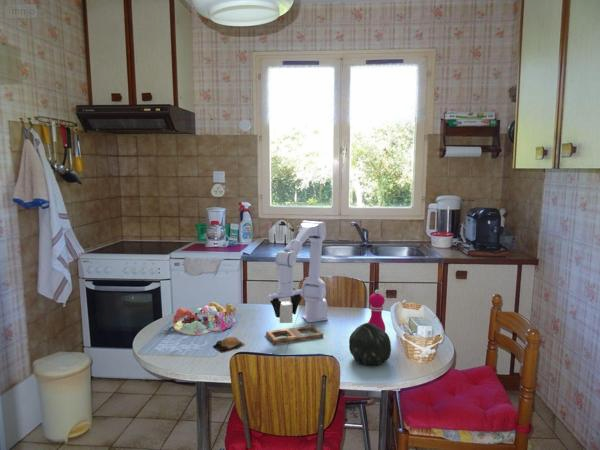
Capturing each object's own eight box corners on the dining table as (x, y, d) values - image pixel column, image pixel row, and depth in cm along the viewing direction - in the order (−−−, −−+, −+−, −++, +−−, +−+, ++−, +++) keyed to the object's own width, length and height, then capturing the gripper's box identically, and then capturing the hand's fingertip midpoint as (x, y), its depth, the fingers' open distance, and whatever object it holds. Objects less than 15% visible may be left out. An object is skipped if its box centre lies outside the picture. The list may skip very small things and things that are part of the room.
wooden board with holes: (313, 328, 181) (313, 324, 181) (323, 337, 172) (323, 333, 171) (266, 335, 174) (266, 331, 174) (274, 345, 164) (274, 340, 164)
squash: (390, 336, 159) (364, 308, 156) (405, 354, 144) (377, 324, 141) (361, 361, 159) (335, 334, 156) (373, 383, 145) (345, 353, 141)
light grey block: (291, 318, 173) (291, 301, 172) (292, 322, 168) (292, 305, 167) (279, 318, 173) (279, 301, 172) (279, 323, 168) (279, 305, 167)
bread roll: (234, 340, 170) (234, 331, 170) (246, 346, 164) (246, 337, 164) (210, 347, 163) (210, 338, 163) (222, 354, 157) (222, 344, 156)
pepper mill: (387, 337, 172) (388, 288, 169) (382, 344, 165) (383, 293, 163) (369, 334, 175) (370, 286, 172) (364, 340, 168) (365, 291, 166)
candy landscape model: (204, 312, 202) (203, 293, 201) (245, 321, 191) (245, 300, 190) (164, 330, 180) (163, 308, 179) (208, 340, 169) (207, 318, 168)
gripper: (296, 277, 176) (296, 309, 177) (264, 281, 168) (264, 315, 170) (305, 280, 170) (305, 314, 171) (273, 285, 162) (273, 320, 164)
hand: (285, 315), depth 170 cm, fingers closed on light grey block, 7 cm apart
